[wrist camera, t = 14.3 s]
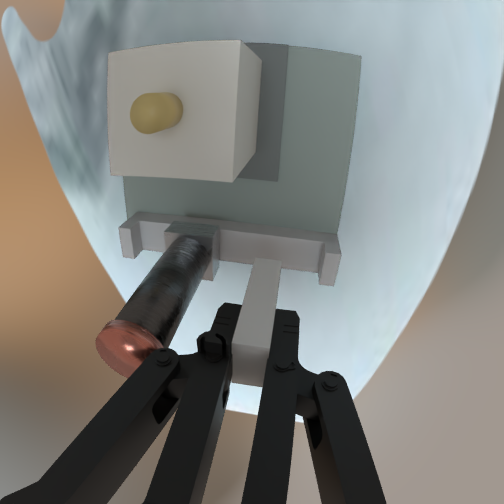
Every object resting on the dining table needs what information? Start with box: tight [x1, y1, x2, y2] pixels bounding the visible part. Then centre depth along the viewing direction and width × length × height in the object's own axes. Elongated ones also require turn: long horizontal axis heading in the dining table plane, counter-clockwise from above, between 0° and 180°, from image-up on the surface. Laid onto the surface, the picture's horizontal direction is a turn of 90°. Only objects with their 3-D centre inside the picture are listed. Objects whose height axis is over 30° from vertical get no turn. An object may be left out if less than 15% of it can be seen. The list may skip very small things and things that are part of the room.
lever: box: [96, 220, 220, 378], centre depth 16 cm, size 3×3×11 cm
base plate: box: [118, 43, 361, 286], centre depth 18 cm, size 15×16×4 cm
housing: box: [107, 40, 262, 183], centre depth 13 cm, size 6×6×9 cm
